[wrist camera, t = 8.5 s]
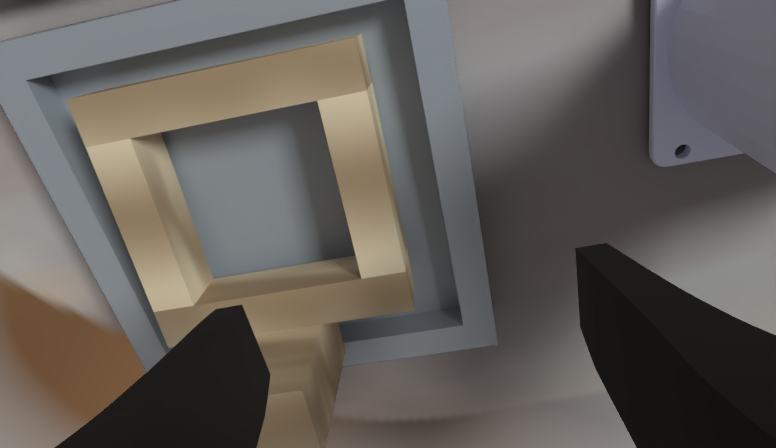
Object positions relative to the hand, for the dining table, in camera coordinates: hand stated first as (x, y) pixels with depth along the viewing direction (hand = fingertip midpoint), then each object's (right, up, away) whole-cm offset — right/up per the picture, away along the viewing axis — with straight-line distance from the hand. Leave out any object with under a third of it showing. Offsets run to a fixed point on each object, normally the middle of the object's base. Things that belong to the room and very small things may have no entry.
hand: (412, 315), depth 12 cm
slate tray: (-5, +3, +9) cm, 11 cm away
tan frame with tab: (-5, +2, +8) cm, 10 cm away
